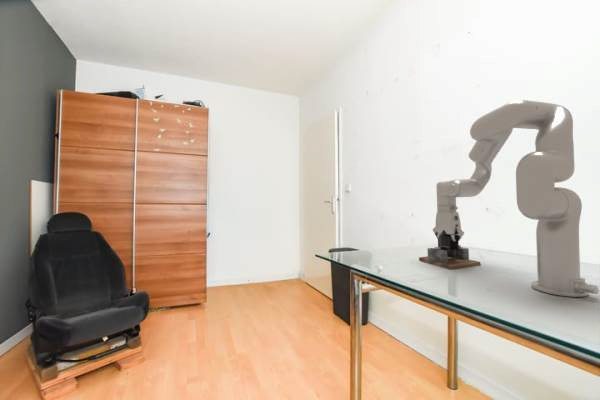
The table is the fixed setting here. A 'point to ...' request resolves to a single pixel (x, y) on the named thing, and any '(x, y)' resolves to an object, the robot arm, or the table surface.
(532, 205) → the robot arm
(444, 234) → the supplement bottle
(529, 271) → the table surface
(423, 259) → the bottle cradle
